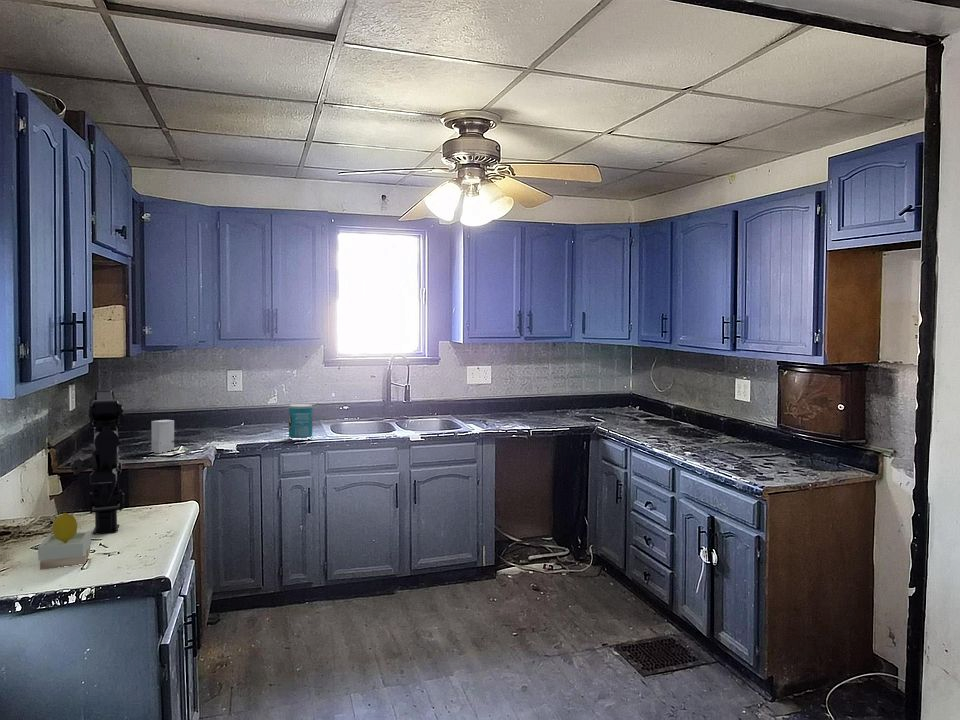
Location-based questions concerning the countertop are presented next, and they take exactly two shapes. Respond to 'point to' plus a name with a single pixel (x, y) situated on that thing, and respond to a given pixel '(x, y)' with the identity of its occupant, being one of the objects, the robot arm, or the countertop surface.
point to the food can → (300, 420)
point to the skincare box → (162, 436)
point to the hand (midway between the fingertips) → (106, 500)
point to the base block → (64, 561)
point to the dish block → (64, 547)
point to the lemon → (64, 527)
